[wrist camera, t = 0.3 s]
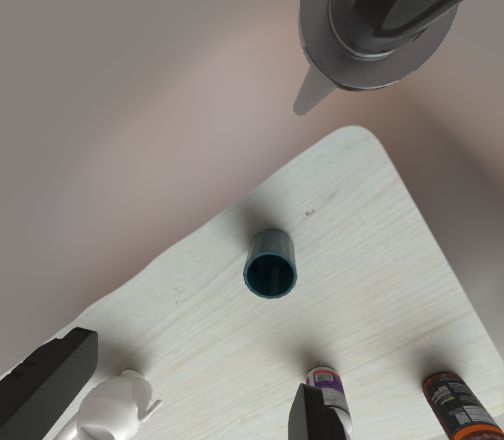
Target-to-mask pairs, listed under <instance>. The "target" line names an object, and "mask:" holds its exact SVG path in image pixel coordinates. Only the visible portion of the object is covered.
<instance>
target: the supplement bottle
mask: <svg viewBox="0 0 504 440" xmlns="http://www.w3.org/2000/svg"><path fill="white" fill-rule="evenodd" d="M423 393H424V395H425V397H426V399H427V401H428V403H429V405H430V406H431V408H432V410H433V412H434V413H435V415H436V417H437V419H438V421H439V422H440V424H441V426H442V428H443V429H444V431H445V433H446V435H447V437H448V438H449V440H504V433H503V432H502V430H501V429H500V428H499V426H498V425H497V424H496V423H495V421H494V420H493V418H492V417H491V416H490V414H489V413H488V412H487V411H486V409H485V408H484V407H483V405H482V404H481V403H480V401H479V400H478V399H477V397H476V396H475V395H474V393H473V392H472V391H471V390H470V388H469V387H468V386H467V384H466V383H465V382H464V381H463V380H462V379H461V378H460V377H459V376H457V375H454V374H451V373H440V374H436V375H433V376H431V377H430V378H428V379H427V380H426V382H425V383H424V386H423Z"/></svg>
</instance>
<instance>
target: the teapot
mask: <svg viewBox="0 0 504 440" xmlns="http://www.w3.org/2000/svg"><path fill="white" fill-rule="evenodd" d="M152 397H153V390H152V387H151V384H150V383H149V382H148V381H147V380H145V378H144V377H143V376H142V375H141V374H140V373H139V372H137V371H134V370H125V371H123V372H122V373H121V374H120V376H118V377H114V378H110V379H108V380H106V381H104V382H102V383H100V384H99V385H97V386H96V387H95V388H93V389H92V390H91V391H90V392H89V393H88V394H87V395H86V397H85V398H84V399H83V401H82V403H81V404H80V407H79V411H78V412H77V413H76V414H75V415H74V416H73V417H72V418H71V419H70V420H69V421H68V423H67V424H66V425H65V426H64V427H63V428H62V430H61V431H60V432H59V433H58V434H57V435H56V437H55V438H54V439H53V440H71V439H73V438H74V437H75V436H76V435H78V437H79V439H80V440H130V439H131V438H132V437H133V436H134V435H135V434H136V433H137V432H138V430H139V428H140V426H141V424H142V422H144V421H146V420H147V418H148V417H149V416H150V415H151V414H152V413H153V412H154V411H155V410H156V409H157V408H159V407H160V406H161V405H162V404H163V401H162V400H157V401H156V402H155V403H154V404H153V405H152V406H151V408H150V409H149V407H150V404H151V402H152ZM148 409H149V410H148Z"/></svg>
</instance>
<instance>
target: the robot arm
mask: <svg viewBox="0 0 504 440" xmlns="http://www.w3.org/2000/svg"><path fill="white" fill-rule="evenodd" d="M462 1H463V0H329V2H328V19H329V25H330V28H331V31H332V34H333V36H334V38H335V39H336V41H337V42H338V44H339V45H340V46H341V47H342V48H343V49H344V50H345V51H347V52H348V53H350V54H352V55H353V56H356V57H359V58H365V59H374V58H380V57H384V56H387V55H389V54H391V53H393V52H395V51H397V50H398V49H400V48H401V47H402V46H404V45H405V44H406V43H408V42H409V41H410V40H411V39H412V38H413V37H414V36H416V35H417V34H418V33H420V32H421V31H422V32H421V33H420V34H419V35H418V36H417V37H416V38H415V39H414V40H416V39H417V38H418V37H419V36H420V35H421V34H422V33H423V32H424V31H425V30H426V29H427V28H428V27H429V26H430V25H431V24H432V23H433V22H435V21H436V20H437V19H439V18H440V17H442V16H443V15H444V14H446V13H447V12H448V11H450V10H451V9H452V8H454V7H455V6H456V5H458V4H459V3H460V2H462ZM414 40H413V41H414ZM413 41H412V42H413ZM97 362H98V333H97V332H96V331H92V330H88V329H84V328H80V327H76V328H74V329H72V330H71V331H70V332H69V333H68V334H67V335H66V336H65V337H64V338H62V339H57V338H55V339H53V340H52V341H50V342H48V343H46V344H44V345H42V346H40V347H39V348H37V349H36V350H35V351H34V352H33V353H32V354H30V355H29V356H28V357H27V358H26V359H25V360H24V361H23V363H20V364H19V365H18V366H17V367H16V368H14V369H13V370H12V371H11V373H10V374H8V375H6V376H5V377H4V378H3V379H2V380H1V381H0V440H42V439H43V438H44V437H45V435H46V434H47V433H48V432H49V430H50V429H51V428H52V426H53V425H54V424H55V423H56V421H57V420H58V419H59V418H60V416H61V415H62V414H63V412H64V411H65V410H66V409H67V407H68V406H69V405H70V403H71V402H72V401H73V400H74V398H75V397H76V396H77V395H78V393H79V392H80V391H81V389H82V388H83V387H84V386H85V384H86V383H87V382H88V381H89V379H90V378H91V376H92V375H93V373H94V371H95V369H96V366H97ZM288 440H346V435H345V431H344V426H343V424H342V422H341V420H340V418H339V416H338V415H337V413H336V411H335V409H334V408H330V407H326V406H325V404H324V398H323V392H322V389H321V388H319V387H315V386H311V385H307V384H303V383H301V384H300V385H299V388H298V390H297V393H296V396H295V399H294V402H293V404H292V407H291V410H290V414H289V422H288Z"/></svg>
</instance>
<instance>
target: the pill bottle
mask: <svg viewBox="0 0 504 440" xmlns="http://www.w3.org/2000/svg"><path fill="white" fill-rule="evenodd" d="M306 384H307V385H311V386H315V387H319V388H321V389H322V392H323V398H324V404H325V406H326V407H330V408H334V409H335V411H336V413H337V415H338V416H339V418H340V420H341V422H342V424H343V426H344V431H345V435H346V440H350V437H349V435H350V433H351V431H352V422H351V417H350V413H349V410H348V406H347V402H346V398H345V394H344V390H343V386H342V382H341V379H340V376H339V374H338V373H337V372H336V371H335V370H333V369H331V368H328V367H317V368H315V369H313V370H311V371H310V372H309V373H308V375H307V377H306Z"/></svg>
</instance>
